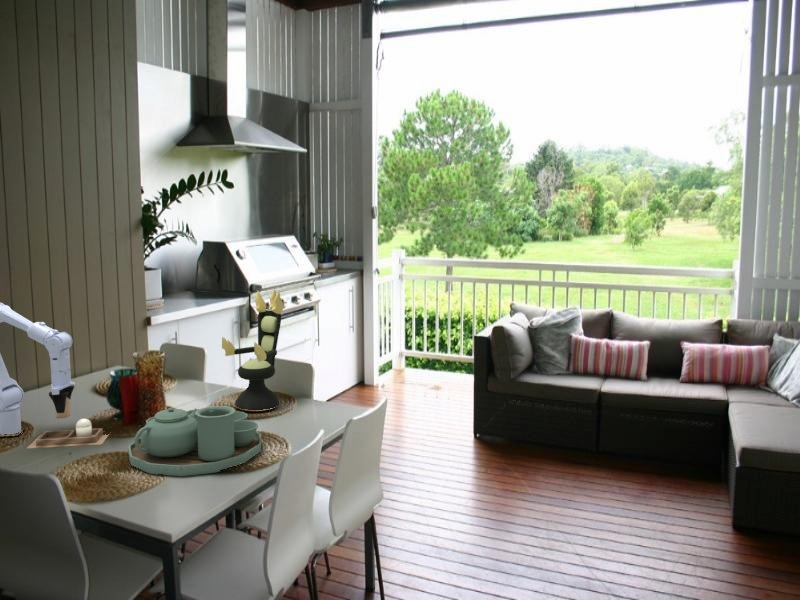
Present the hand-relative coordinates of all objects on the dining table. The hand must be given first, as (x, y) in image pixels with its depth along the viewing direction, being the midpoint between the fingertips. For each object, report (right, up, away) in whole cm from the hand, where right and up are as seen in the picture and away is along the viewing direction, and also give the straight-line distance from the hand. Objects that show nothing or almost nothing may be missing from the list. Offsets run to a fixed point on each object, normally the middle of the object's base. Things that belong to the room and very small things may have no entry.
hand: (62, 410), depth 218 cm
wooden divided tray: (+4, -9, -3) cm, 11 cm away
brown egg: (0, -2, 0) cm, 2 cm away
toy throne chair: (+57, -5, +39) cm, 69 cm away
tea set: (+48, -12, -12) cm, 51 cm away
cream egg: (+8, -9, -3) cm, 12 cm away
